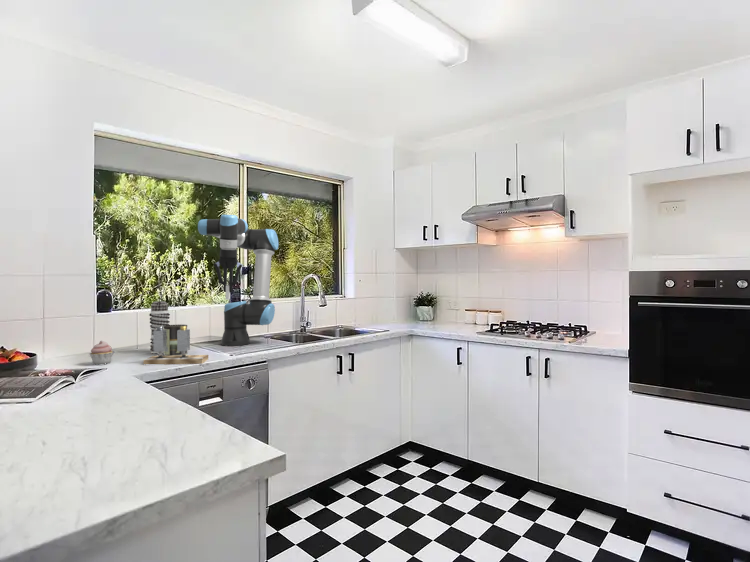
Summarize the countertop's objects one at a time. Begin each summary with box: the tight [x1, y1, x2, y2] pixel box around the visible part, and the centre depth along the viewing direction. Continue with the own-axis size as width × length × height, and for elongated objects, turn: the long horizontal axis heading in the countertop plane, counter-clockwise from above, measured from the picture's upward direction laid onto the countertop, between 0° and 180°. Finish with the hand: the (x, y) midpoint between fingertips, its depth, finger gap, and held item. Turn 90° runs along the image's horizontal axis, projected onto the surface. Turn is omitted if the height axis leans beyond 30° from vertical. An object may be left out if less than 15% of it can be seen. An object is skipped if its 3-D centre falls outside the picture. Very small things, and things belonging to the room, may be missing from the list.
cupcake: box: [88, 340, 115, 365], centre depth 192 cm, size 9×9×10 cm
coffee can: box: [163, 324, 188, 356], centre depth 212 cm, size 10×10×14 cm
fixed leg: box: [153, 326, 167, 358], centre depth 194 cm, size 4×4×14 cm
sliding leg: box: [177, 326, 191, 357], centre depth 195 cm, size 4×4×13 cm
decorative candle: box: [148, 300, 171, 354], centre depth 220 cm, size 9×9×25 cm
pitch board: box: [142, 354, 209, 365], centre depth 195 cm, size 24×10×2 cm, turn 96°
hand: (227, 298), depth 208 cm, fingers closed
